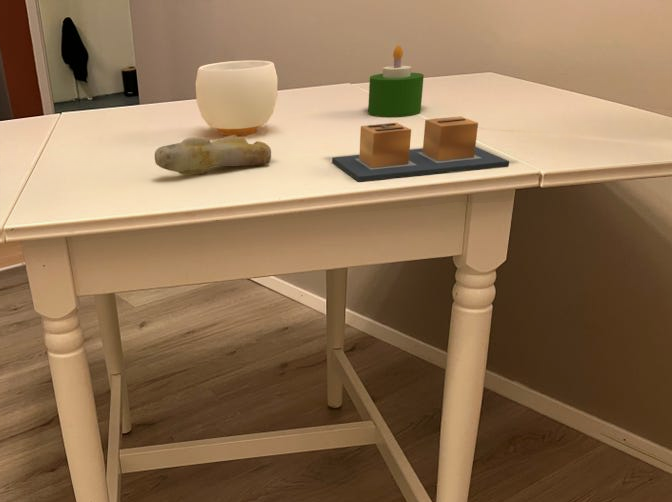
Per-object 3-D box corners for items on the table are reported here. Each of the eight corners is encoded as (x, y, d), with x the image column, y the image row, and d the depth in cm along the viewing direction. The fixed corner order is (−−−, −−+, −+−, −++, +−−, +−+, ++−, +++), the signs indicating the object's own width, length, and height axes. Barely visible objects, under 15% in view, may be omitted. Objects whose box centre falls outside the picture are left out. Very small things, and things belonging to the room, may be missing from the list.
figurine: (250, 138, 94) (144, 138, 88) (270, 126, 89) (159, 124, 83) (254, 177, 94) (149, 179, 88) (274, 167, 89) (163, 169, 83)
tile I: (457, 149, 88) (460, 115, 86) (474, 157, 84) (478, 121, 82) (422, 153, 87) (425, 118, 85) (437, 161, 83) (441, 125, 81)
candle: (357, 114, 116) (360, 47, 111) (387, 105, 120) (391, 41, 115) (401, 118, 110) (406, 49, 105) (430, 109, 115) (436, 42, 110)
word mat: (468, 148, 91) (468, 143, 90) (508, 166, 82) (509, 160, 82) (331, 162, 89) (332, 156, 89) (358, 181, 80) (358, 175, 80)
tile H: (394, 155, 87) (396, 121, 85) (408, 164, 83) (411, 128, 81) (359, 159, 87) (360, 124, 85) (371, 168, 83) (373, 131, 81)
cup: (200, 143, 104) (196, 73, 99) (197, 127, 115) (193, 63, 110) (283, 137, 104) (283, 66, 99) (272, 121, 115) (271, 57, 110)
